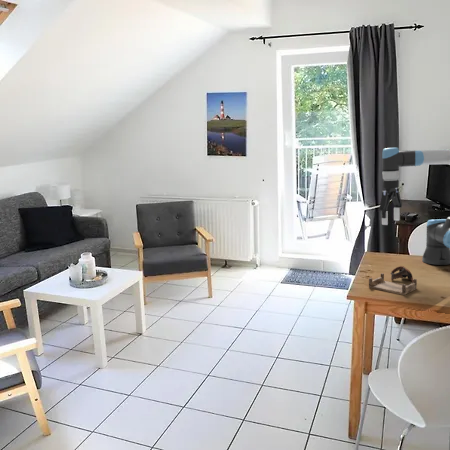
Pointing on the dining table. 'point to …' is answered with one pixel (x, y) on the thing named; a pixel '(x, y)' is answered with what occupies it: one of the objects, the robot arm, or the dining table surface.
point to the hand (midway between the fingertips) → (390, 222)
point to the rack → (391, 286)
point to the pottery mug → (401, 273)
